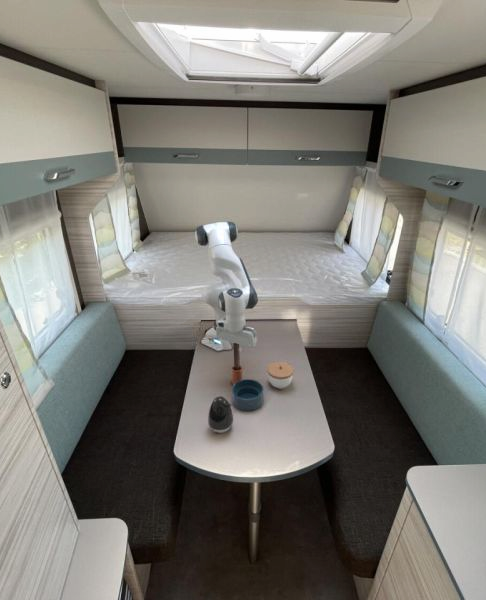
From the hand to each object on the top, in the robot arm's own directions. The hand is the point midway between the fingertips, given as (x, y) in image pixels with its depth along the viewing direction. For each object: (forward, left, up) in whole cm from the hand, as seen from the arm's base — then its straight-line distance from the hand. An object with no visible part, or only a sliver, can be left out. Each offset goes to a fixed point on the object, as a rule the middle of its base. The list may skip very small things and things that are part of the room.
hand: (236, 349), depth 153 cm
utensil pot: (0, 0, -19) cm, 19 cm away
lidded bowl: (+19, +9, -19) cm, 29 cm away
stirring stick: (0, 0, -14) cm, 14 cm away
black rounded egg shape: (+9, -28, -19) cm, 35 cm away
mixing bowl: (+11, -9, -19) cm, 24 cm away
